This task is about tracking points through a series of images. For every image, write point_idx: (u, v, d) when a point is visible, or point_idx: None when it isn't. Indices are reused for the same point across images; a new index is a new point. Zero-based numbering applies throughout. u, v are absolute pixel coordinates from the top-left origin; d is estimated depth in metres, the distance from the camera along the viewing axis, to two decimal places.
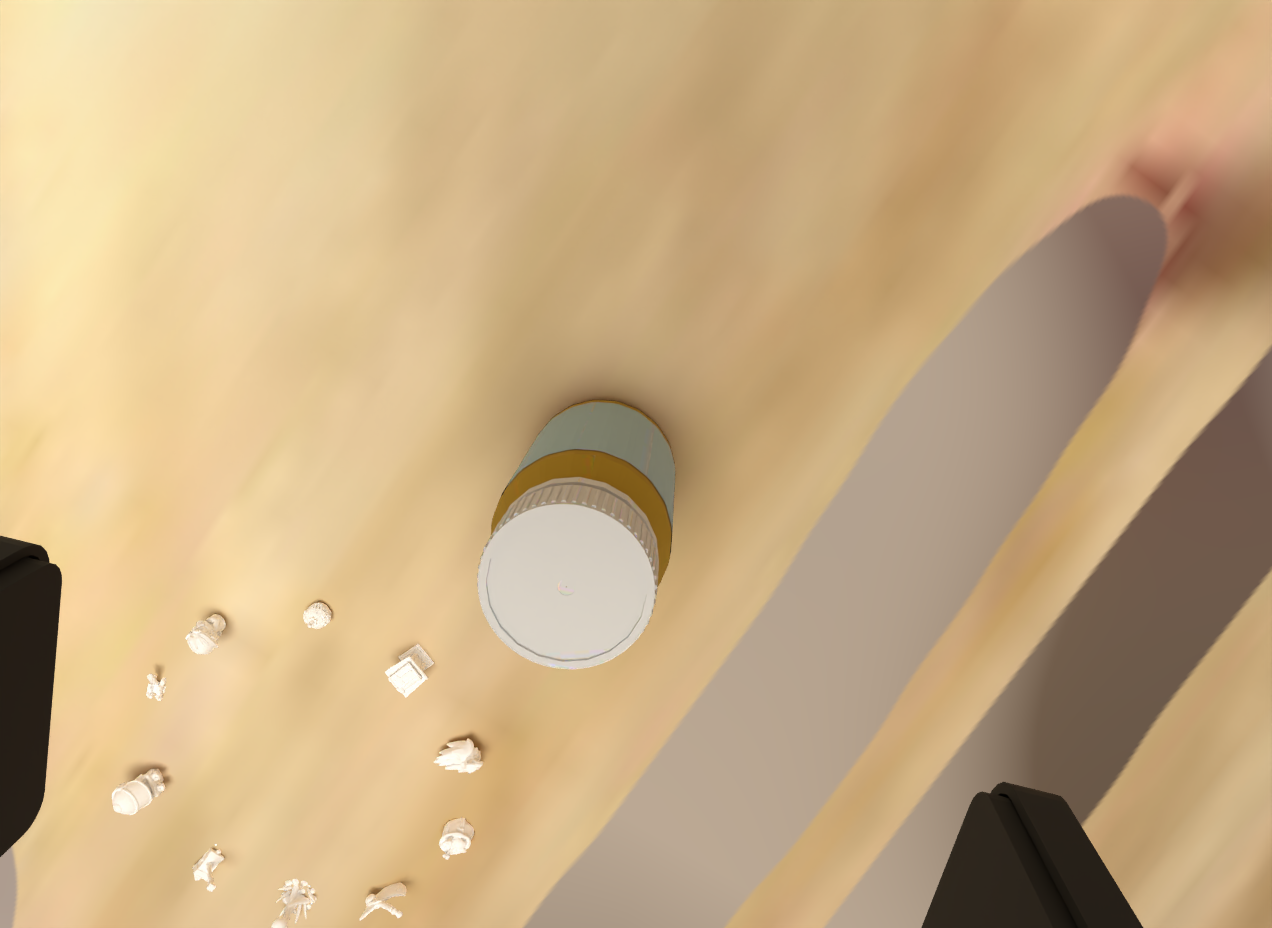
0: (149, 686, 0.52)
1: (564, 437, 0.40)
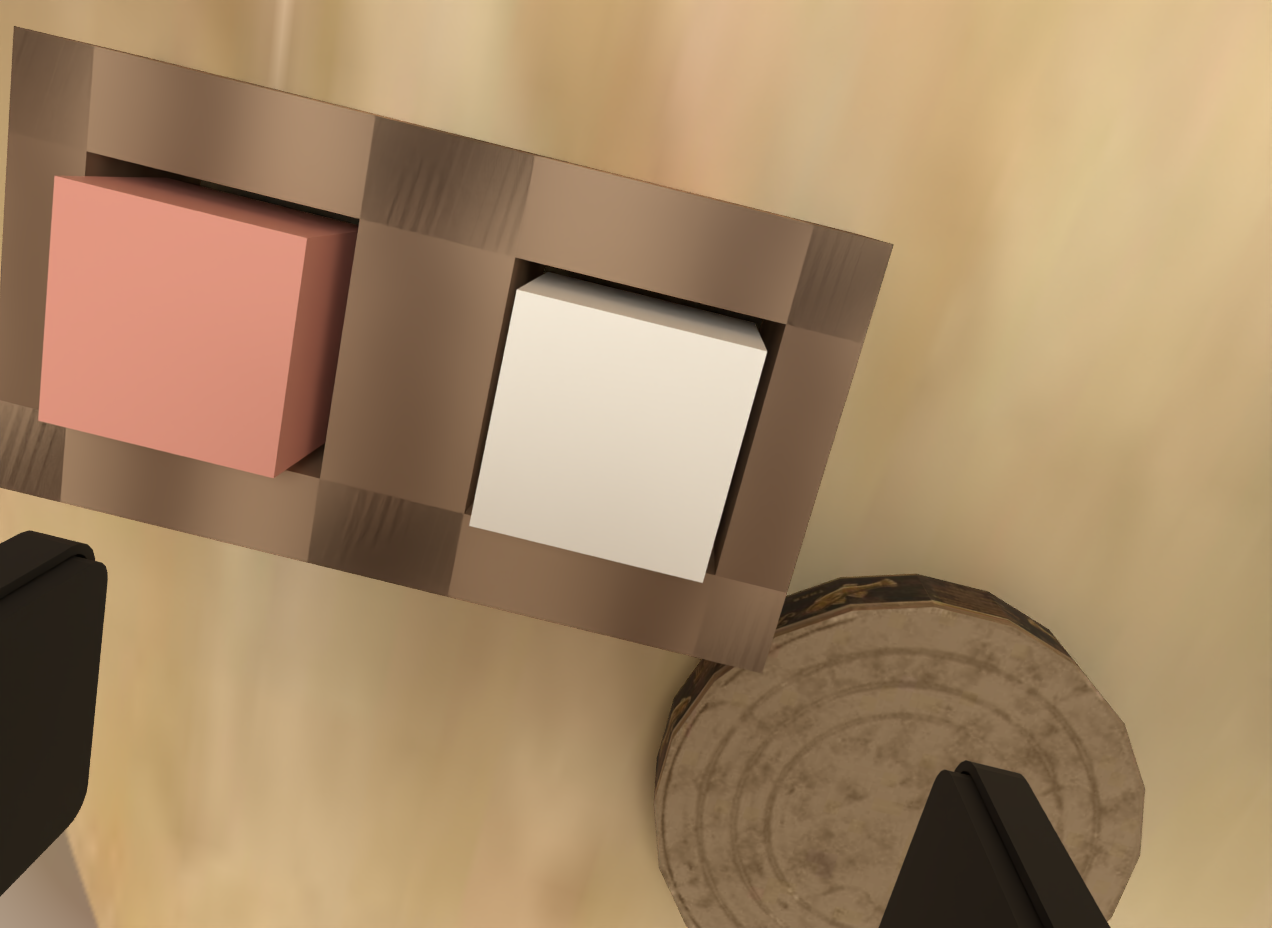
0: None
1: None
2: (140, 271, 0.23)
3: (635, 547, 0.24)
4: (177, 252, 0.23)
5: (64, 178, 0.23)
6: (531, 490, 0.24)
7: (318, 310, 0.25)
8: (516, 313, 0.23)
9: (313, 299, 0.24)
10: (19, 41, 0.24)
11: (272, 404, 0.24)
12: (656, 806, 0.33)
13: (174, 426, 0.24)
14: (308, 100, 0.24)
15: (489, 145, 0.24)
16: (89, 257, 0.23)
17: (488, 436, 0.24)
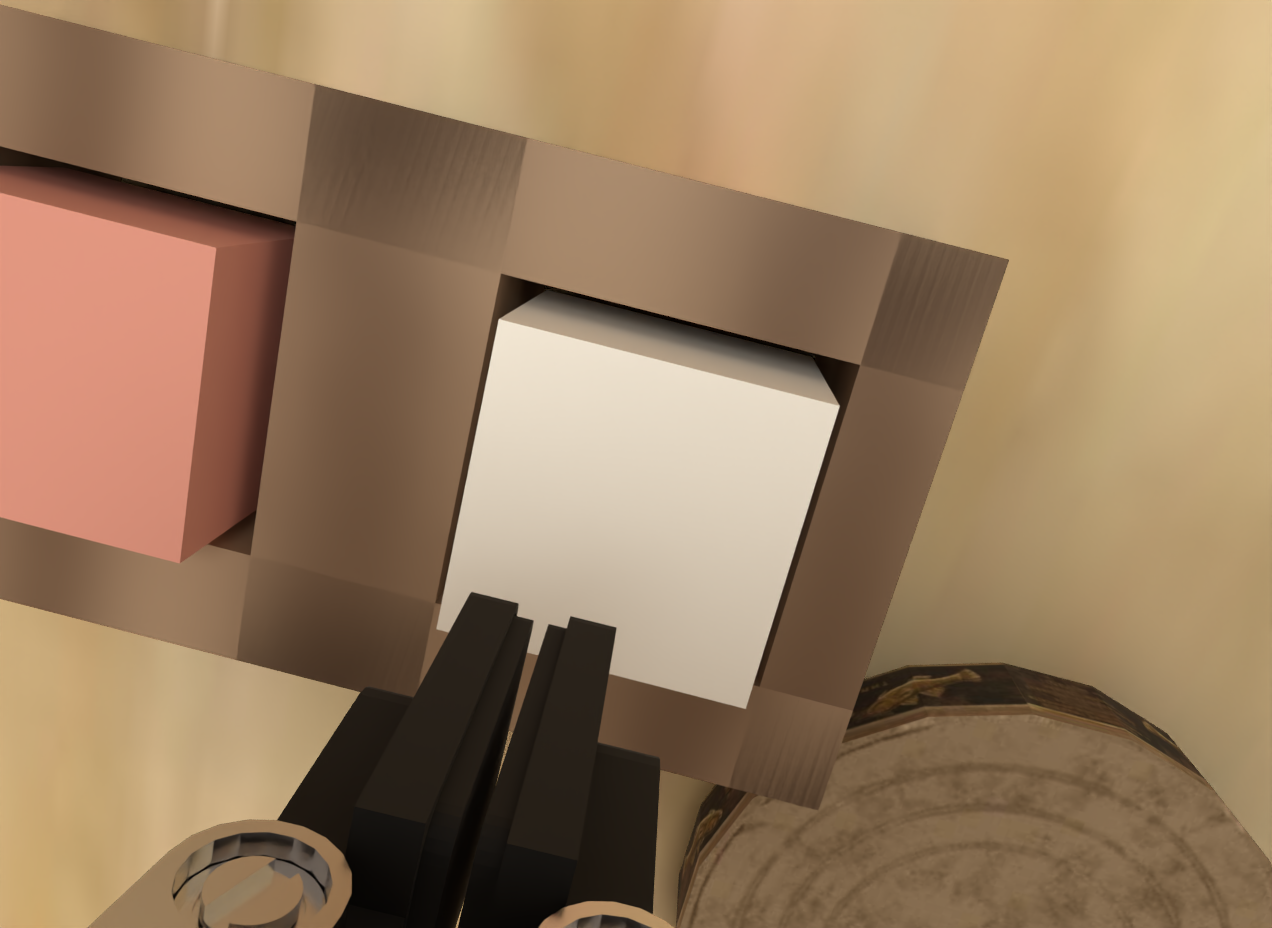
0: None
1: None
2: None
3: (656, 661, 0.18)
4: (44, 265, 0.17)
5: None
6: (517, 584, 0.18)
7: (241, 341, 0.19)
8: (498, 351, 0.17)
9: (231, 328, 0.18)
10: None
11: (175, 467, 0.18)
12: None
13: (49, 494, 0.18)
14: (226, 63, 0.18)
15: (466, 124, 0.18)
16: None
17: (461, 513, 0.18)
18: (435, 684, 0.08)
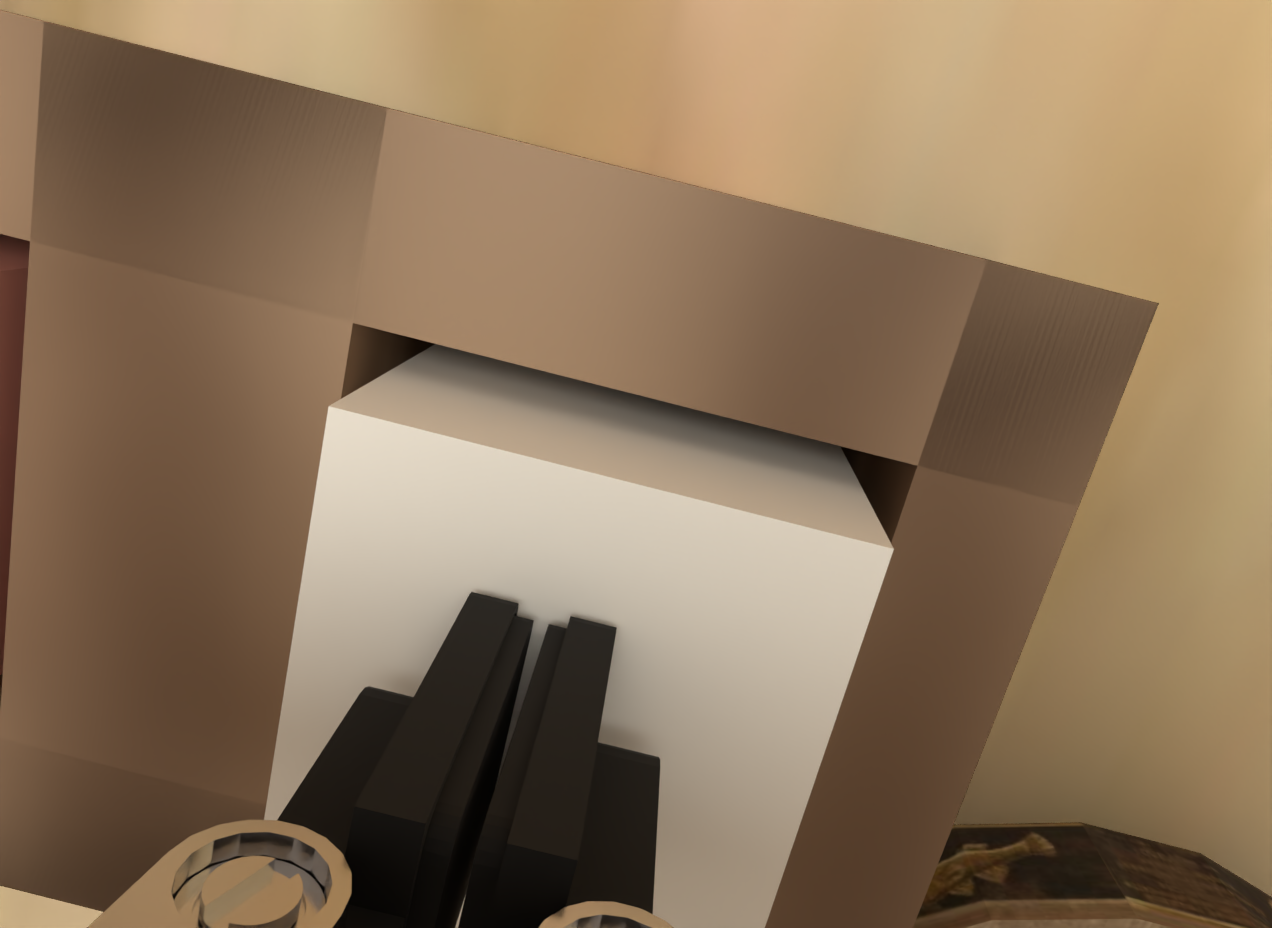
0: None
1: None
2: None
3: None
4: None
5: None
6: None
7: None
8: (330, 458, 0.10)
9: None
10: None
11: None
12: None
13: None
14: None
15: (288, 86, 0.11)
16: None
17: (284, 709, 0.11)
18: (435, 684, 0.08)
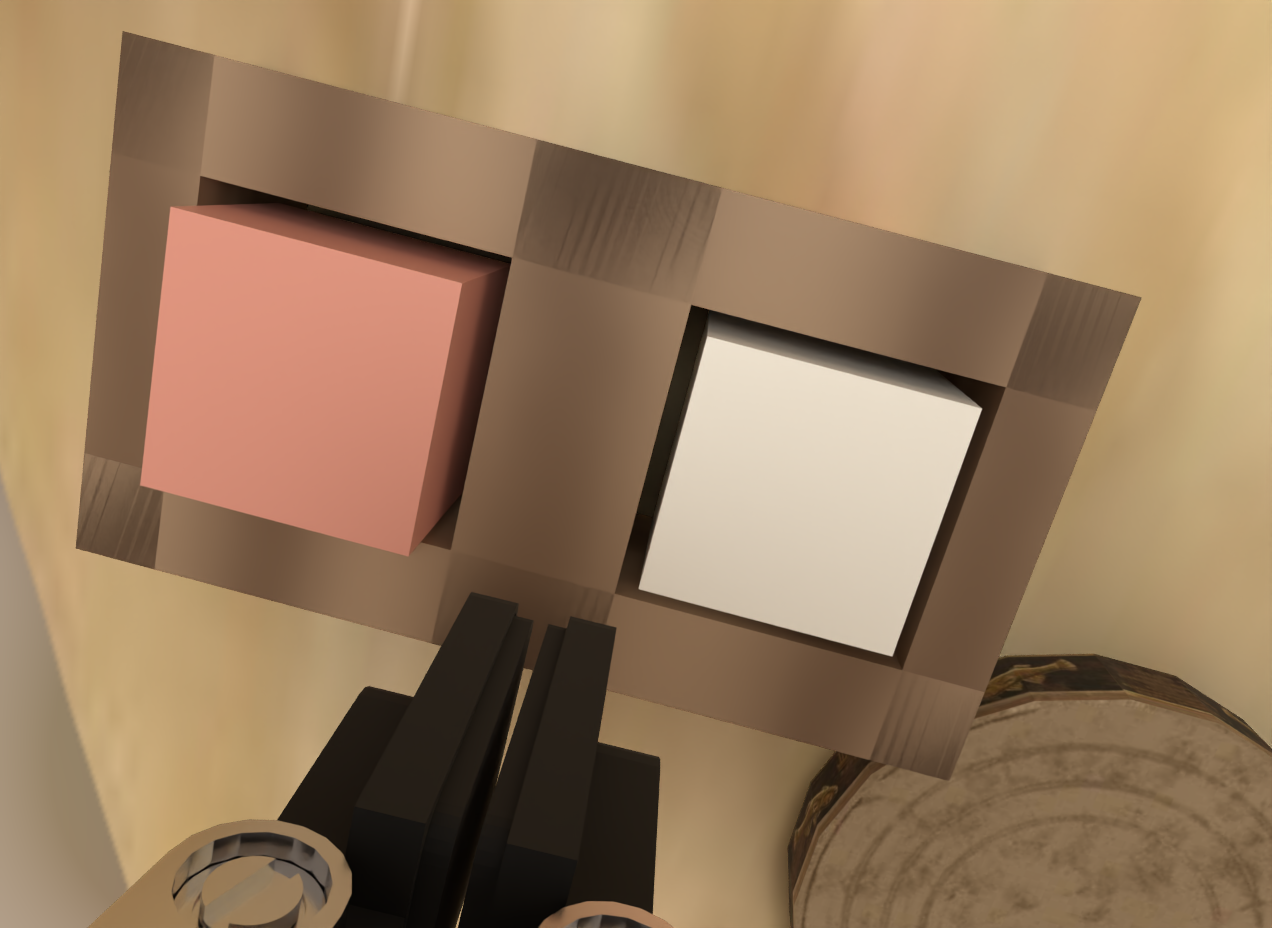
0: None
1: None
2: (265, 318, 0.20)
3: (820, 616, 0.22)
4: (309, 297, 0.20)
5: (181, 209, 0.20)
6: (708, 552, 0.22)
7: (462, 362, 0.21)
8: (705, 362, 0.21)
9: (459, 351, 0.21)
10: (128, 49, 0.21)
11: (411, 472, 0.21)
12: (796, 908, 0.29)
13: (296, 495, 0.21)
14: (459, 120, 0.20)
15: (668, 175, 0.20)
16: (207, 301, 0.20)
17: (665, 494, 0.22)
18: (435, 684, 0.08)
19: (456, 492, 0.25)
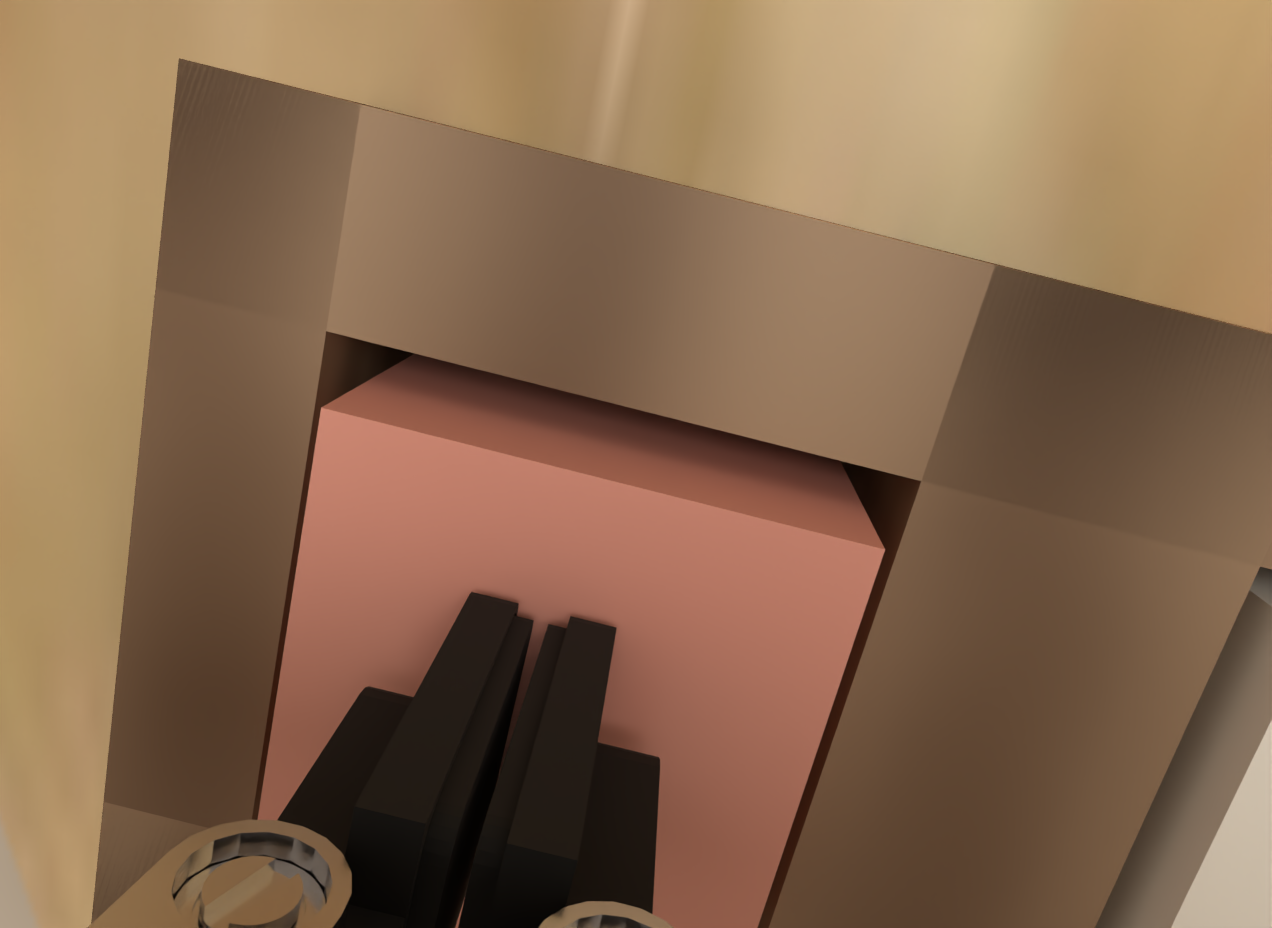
0: None
1: None
2: None
3: None
4: (584, 571, 0.10)
5: (342, 412, 0.10)
6: None
7: None
8: None
9: None
10: (190, 93, 0.11)
11: (750, 868, 0.11)
12: None
13: None
14: (844, 229, 0.10)
15: (1250, 332, 0.11)
16: (385, 576, 0.11)
17: (1185, 900, 0.12)
18: (435, 684, 0.08)
19: None
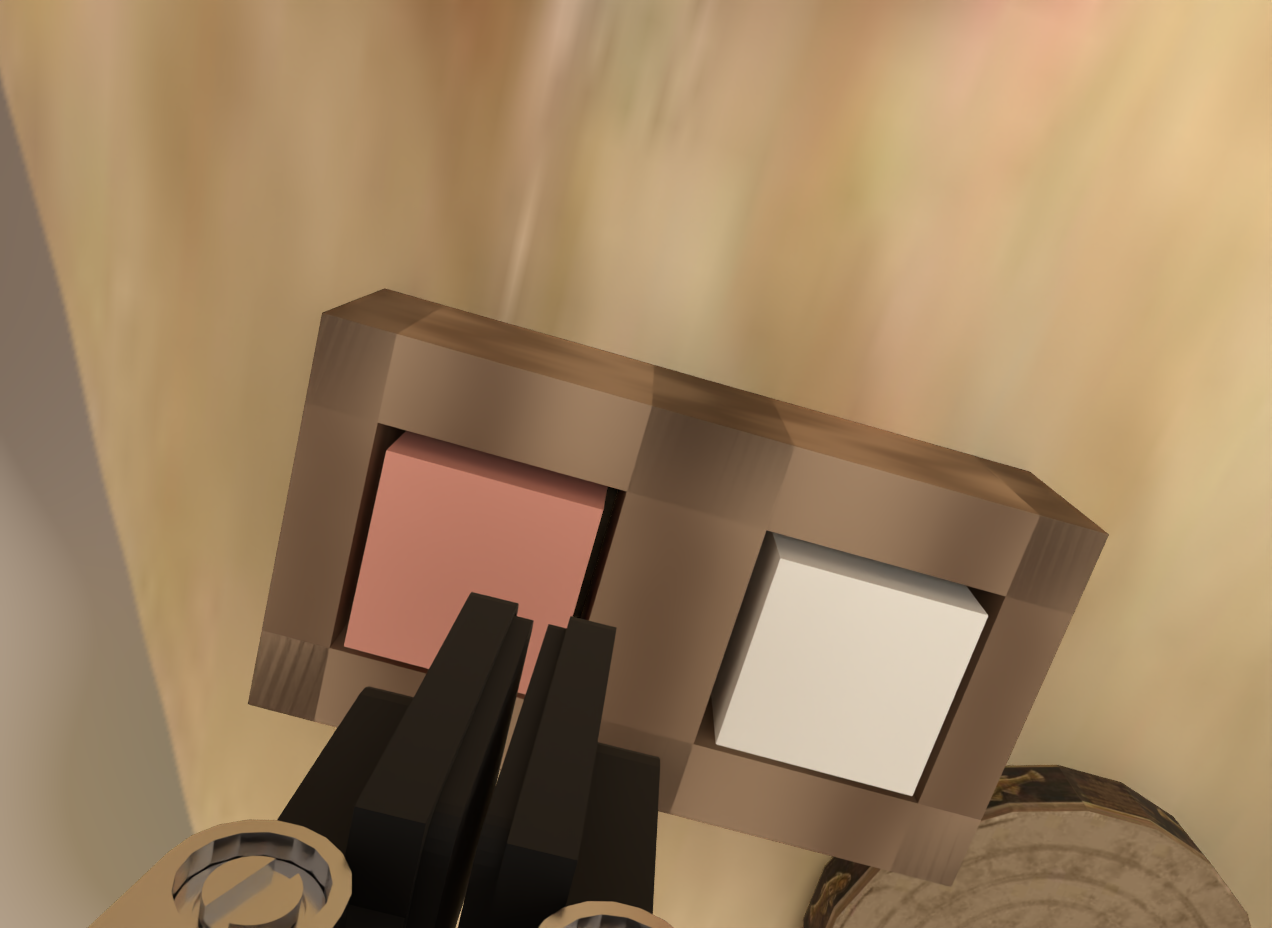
0: None
1: None
2: (452, 529, 0.27)
3: (857, 766, 0.28)
4: (487, 516, 0.27)
5: (394, 452, 0.26)
6: (772, 717, 0.28)
7: None
8: (778, 577, 0.27)
9: None
10: (326, 326, 0.26)
11: None
12: None
13: None
14: (591, 390, 0.26)
15: (753, 435, 0.26)
16: (408, 516, 0.27)
17: (741, 673, 0.28)
18: (435, 684, 0.08)
19: None
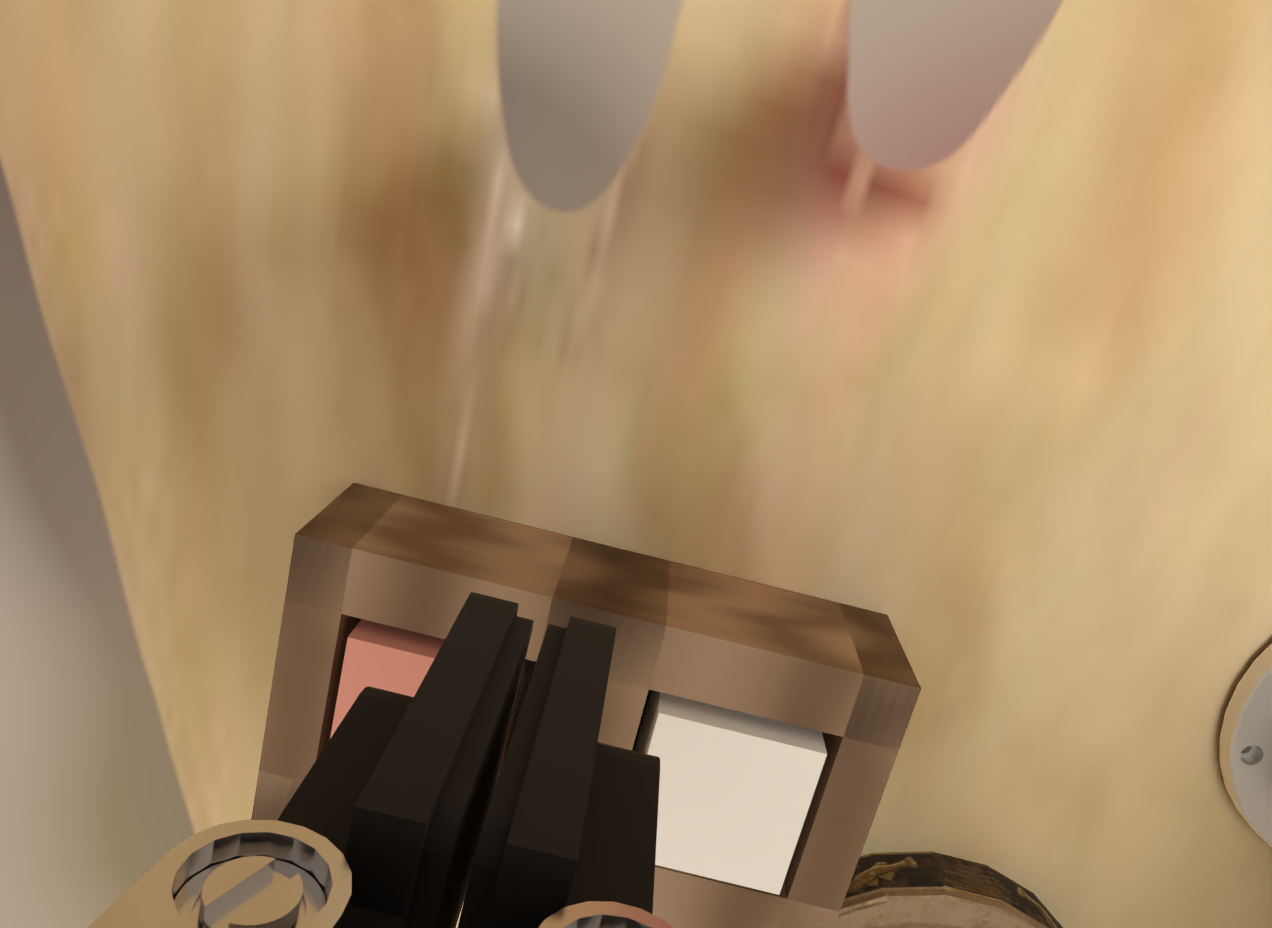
0: None
1: None
2: None
3: (733, 871, 0.35)
4: None
5: (354, 638, 0.34)
6: (662, 834, 0.35)
7: None
8: (658, 727, 0.34)
9: None
10: (298, 544, 0.33)
11: None
12: None
13: None
14: (504, 587, 0.33)
15: (633, 618, 0.33)
16: (367, 686, 0.34)
17: None
18: (435, 684, 0.08)
19: (504, 758, 0.39)
